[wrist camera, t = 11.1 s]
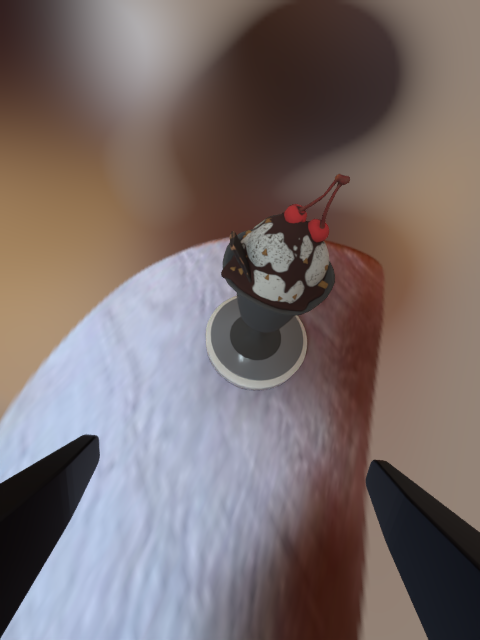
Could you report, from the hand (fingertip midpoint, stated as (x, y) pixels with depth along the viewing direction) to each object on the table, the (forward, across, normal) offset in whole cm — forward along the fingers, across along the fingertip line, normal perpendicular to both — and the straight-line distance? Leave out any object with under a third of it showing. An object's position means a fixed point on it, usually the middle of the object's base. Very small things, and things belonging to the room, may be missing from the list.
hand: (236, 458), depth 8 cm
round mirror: (+17, -2, +2) cm, 17 cm away
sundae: (+16, -2, +1) cm, 16 cm away
